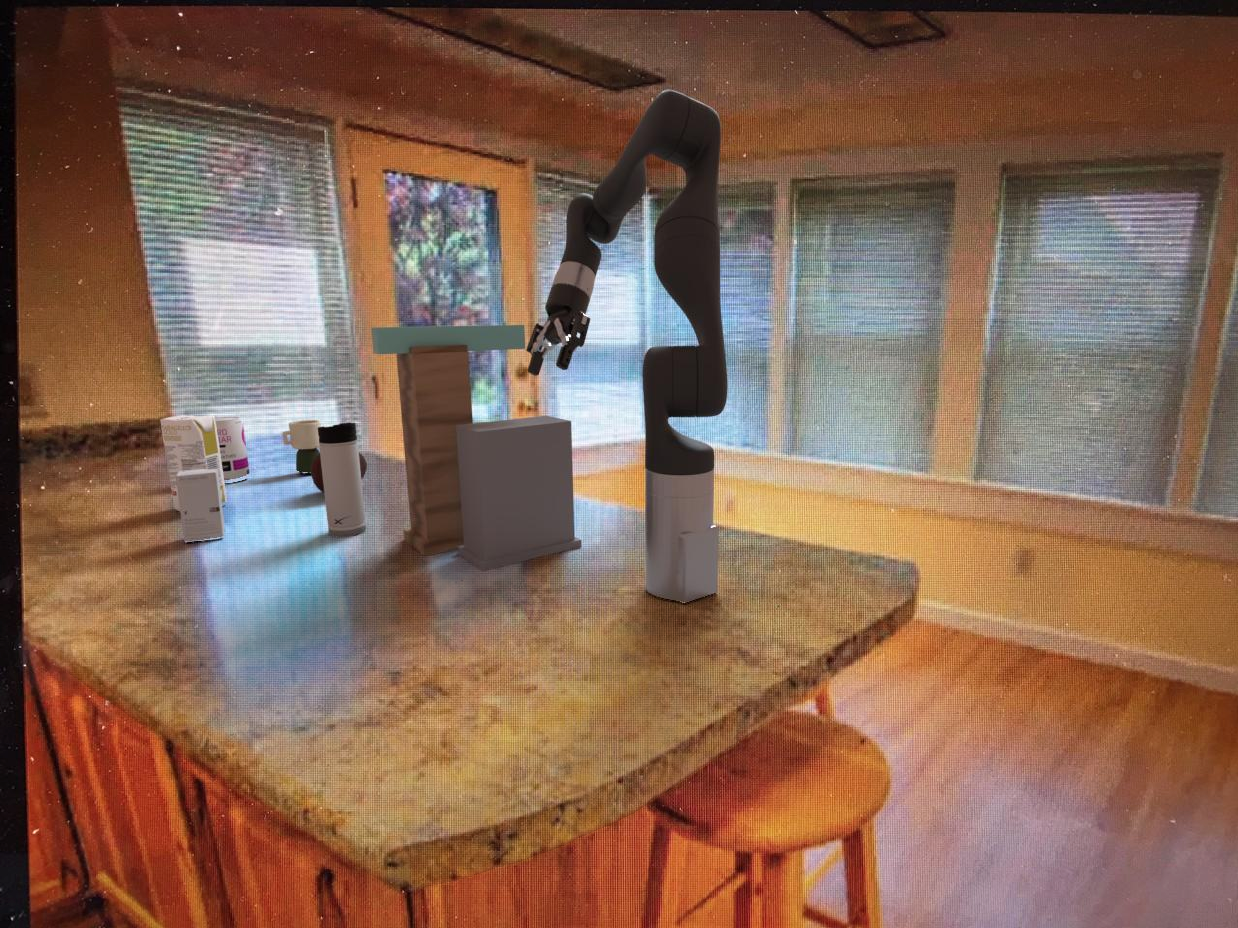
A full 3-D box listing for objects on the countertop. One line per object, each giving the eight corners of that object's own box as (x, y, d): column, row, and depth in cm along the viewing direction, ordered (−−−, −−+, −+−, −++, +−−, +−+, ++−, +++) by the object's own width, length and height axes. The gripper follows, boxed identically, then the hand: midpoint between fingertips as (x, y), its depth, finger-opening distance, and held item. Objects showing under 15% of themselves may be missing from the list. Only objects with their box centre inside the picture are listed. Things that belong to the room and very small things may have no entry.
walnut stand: (488, 542, 114) (476, 345, 107) (424, 555, 108) (408, 347, 101) (464, 528, 122) (452, 343, 115) (404, 540, 116) (387, 346, 109)
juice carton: (206, 514, 133) (192, 419, 129) (168, 513, 134) (152, 419, 130) (233, 504, 140) (220, 414, 136) (196, 503, 141) (183, 413, 137)
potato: (379, 486, 153) (375, 442, 151) (348, 502, 141) (343, 453, 139) (334, 485, 155) (329, 441, 153) (299, 500, 142) (293, 452, 140)
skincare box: (184, 544, 115) (173, 475, 112) (187, 537, 119) (176, 470, 116) (225, 539, 118) (215, 471, 115) (227, 532, 122) (217, 466, 119)
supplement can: (246, 475, 167) (238, 415, 164) (253, 480, 161) (245, 418, 158) (208, 480, 162) (199, 418, 159) (214, 486, 156) (205, 422, 153)
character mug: (326, 467, 174) (320, 418, 172) (337, 471, 169) (332, 420, 167) (282, 474, 167) (275, 423, 164) (293, 479, 162) (286, 426, 159)
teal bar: (525, 348, 114) (524, 324, 113) (378, 354, 102) (376, 327, 101) (516, 348, 117) (515, 324, 116) (373, 353, 105) (371, 327, 104)
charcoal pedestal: (581, 546, 111) (578, 421, 106) (482, 570, 101) (474, 433, 96) (552, 532, 119) (547, 414, 114) (457, 553, 109) (449, 425, 104)
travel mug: (342, 539, 116) (330, 425, 112) (322, 533, 120) (309, 422, 116) (374, 530, 121) (363, 421, 117) (353, 524, 125) (342, 418, 121)
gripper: (610, 296, 122) (586, 376, 118) (562, 310, 133) (538, 384, 128) (580, 273, 117) (555, 356, 113) (533, 290, 128) (507, 366, 124)
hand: (546, 371), depth 121 cm, fingers open, 8 cm apart
